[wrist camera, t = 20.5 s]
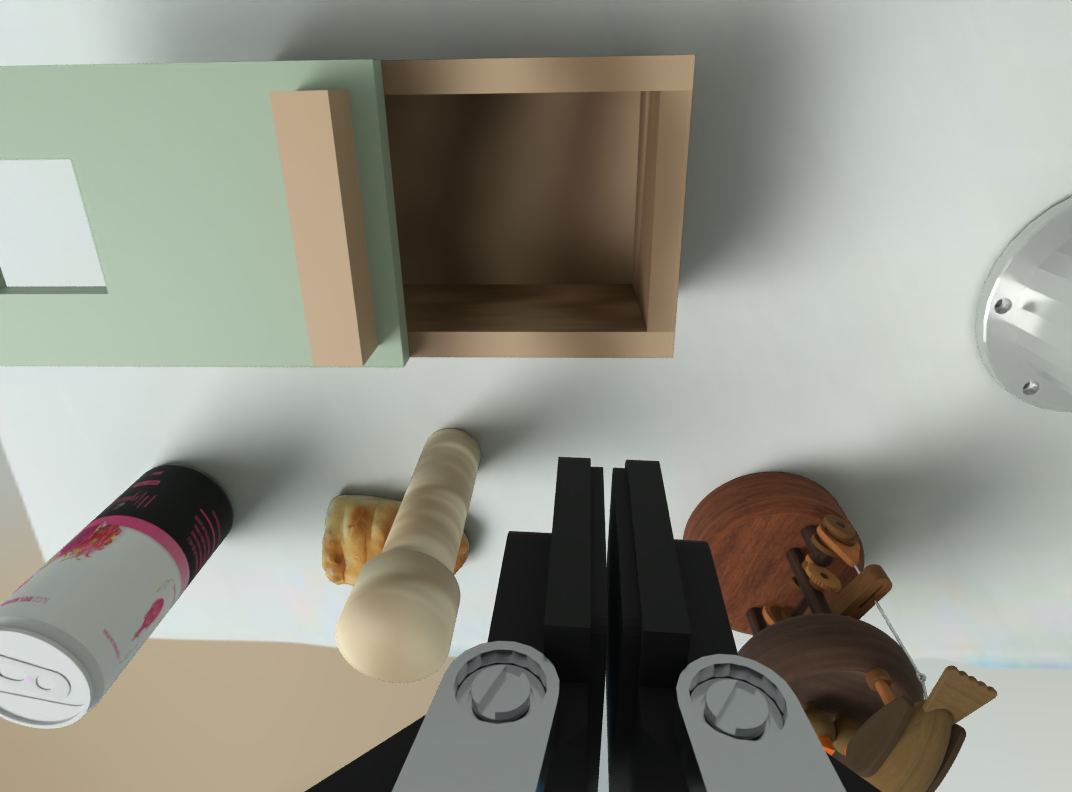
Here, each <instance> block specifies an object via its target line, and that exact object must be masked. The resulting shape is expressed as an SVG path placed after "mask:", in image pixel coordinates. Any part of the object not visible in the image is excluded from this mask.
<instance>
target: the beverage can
mask: <svg viewBox="0 0 1072 792" xmlns="http://www.w3.org/2000/svg"><path fill="white" fill-rule="evenodd" d="M232 522H233V510H232V506H231V503H230V501H229V499H228V497H227V495H226V494H225V492H224V491H223V489H222V488H221V487H220V486H219V485H218V484H217V483H216V482H215V481H214V480H212V479H211V478H210V477H208V476H207V475H205V474H204V473H202V472H200V471H198V470H195V469H193V468H189V467H186V466H181V465H163V466H159V467H156V468H153V469H151V470H149V471H148V472H146V473H145V474H144V475H142V476H141V477H140V478H139V479H138V480H137V481H136V482H135V483H134V484H133V485H131V486H130V487H129V488H128V489H127V490H126V491H125V492H124V493H123V494H122V495H120V496H119V497H118V498H117V499H116V500H115V501H114V502H113V503H112V504H111V505H109V506H108V507H107V508H106V509H105V510H104V511H103V512H102V513H101V514H99V515H98V516H97V517H96V518H95V519H94V520H93V521H92V522H91V523H90V524H88V525H87V526H86V527H85V528H84V529H83V530H82V531H81V532H80V533H79V534H77V535H76V536H75V537H74V538H73V539H72V540H71V541H70V542H69V543H67V544H66V545H65V546H64V547H63V548H62V549H61V550H60V551H59V552H58V553H56V554H55V555H54V556H53V557H52V558H51V559H50V560H49V561H48V562H47V563H45V564H44V565H43V566H42V567H41V568H40V569H39V570H38V571H37V572H36V573H34V574H33V575H32V576H31V577H30V578H29V579H28V580H27V581H26V582H24V583H23V584H22V585H21V586H20V587H19V588H18V589H17V590H16V591H15V592H13V593H12V594H11V595H10V596H9V597H8V598H7V599H6V600H5V601H4V602H2V603H1V604H0V717H2V718H4V719H6V720H9V721H11V722H14V723H17V724H20V725H24V726H28V727H34V728H47V729H49V728H59V727H63V726H67V725H70V724H72V723H74V722H76V721H77V720H79V719H80V718H81V717H83V716H84V714H85V713H86V712H88V711H90V710H91V709H92V708H94V707H95V706H96V705H97V704H98V703H99V701H100V700H101V699H102V697H103V696H104V695H105V693H106V692H107V691H108V689H109V688H110V687H111V686H112V684H113V683H114V682H115V680H116V679H117V677H118V676H119V675H120V674H121V673H122V671H123V670H124V669H125V667H126V666H127V665H128V663H129V662H130V661H131V659H132V658H133V657H134V656H135V654H136V653H137V652H138V650H139V649H140V648H141V646H142V645H143V644H144V643H145V641H146V640H147V639H148V637H149V636H150V635H151V633H152V632H153V631H154V630H155V628H156V627H157V626H158V624H159V623H160V622H161V620H162V619H163V618H164V617H165V615H166V614H167V613H168V611H169V610H170V609H171V607H172V606H173V605H174V603H175V602H176V601H177V600H178V598H179V597H180V596H181V594H182V593H183V592H184V590H185V589H186V588H187V587H188V585H189V584H190V583H191V581H192V580H193V579H194V577H195V576H196V575H197V574H198V572H199V571H200V570H201V568H202V567H203V566H204V564H205V563H206V562H207V560H208V559H209V558H210V557H211V555H212V554H213V553H214V551H215V550H216V549H217V547H218V546H219V545H220V544H221V542H222V541H223V540H224V538H225V537H226V536H227V534H228V533H229V531H230V529H231V526H232Z"/></svg>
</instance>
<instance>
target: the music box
mask: <svg viewBox="0 0 1072 792" xmlns="http://www.w3.org/2000/svg"><path fill="white" fill-rule="evenodd" d="M683 540H696V541H706V542H708V544H709V547H710V550H711V553H712V557H713V561H714V565H715V569H716V572H717V576H718V580H719V584H720V588H721V592H722V595H723V599H724V603H725V607H726V611H727V615H728V618H729V622H730V626H731V629H732V630H735V631H738V632H742V633H746V634H751V635H753V637H752V638H751V639H750V640H749V641H748V642H747V643H746V644H745V645H744V646H743V647H742V648H741V649H740V650H739V652H738V656H741V657H744V658H748V659H751V660H755V661H756V662H758V663H760V664H762V665H764V666H766V667H768V668H770V669H771V670H773V671H774V672H775V673H776V674H777V675H779V676H780V677H781V678H782V679H783V680H785V681H786V683H787V684H788V685H789V687H790V688H791V689H792V691H793V692H794V694H795V695H796V697H797V698H798V700H799V702H800V704H801V706H802V708H803V710H804V712H805V714H806V716H807V718H808V719H809V721H810V723H811V725H812V727H813V729H814V731H815V733H816V735H817V737H818V739H819V740H820V742H821V744H822V746H823V748H824V750H825V752H827V753H828V754H830V755H831V756H832V757H834V758H835V759H837V760H838V761H839V762H841V763H842V764H844V765H845V766H846V767H848V768H849V769H851V770H852V771H853V772H855V773H856V774H858V775H859V776H860V777H862V778H863V779H865V780H866V781H868V782H869V783H870V784H872V785H873V786H875V787H876V788H877V789H879V790H880V791H882V792H934V791H935V790H936V789H937V787H938V786H939V785H940V783H941V782H942V780H943V779H944V777H945V776H946V774H947V773H948V771H949V769H950V767H951V766H952V764H953V762H954V760H955V759H956V757H957V754H958V753H959V751H960V749H961V746H962V744H963V742H964V740H965V737H966V732H965V729H964V728H963V727H961V726H959V725H957V724H955V723H957V722H958V721H960V720H961V719H963V718H964V717H966V716H967V715H969V714H971V713H972V712H974V711H975V710H977V709H978V708H980V707H981V706H983V705H984V704H986V703H988V702H989V701H991V700H992V699H994V698H995V697H996V696H997V692H996V690H995V689H994V688H993V687H990V686H989V687H987V686H986V684H985V683H983V682H981V681H977V680H976V678H974V677H973V676H968V675H967V674H966V673H965V672H964V671H959V670H958V669H957V668H956V667H955V666H948V667H947V668H946V669H945V670H944V672H943V673H942V675H941V677H940V678H939V680H938V682H937V684H936V685H935V687H934V688H933V690H932V692H931V693H930V695H929V697H928V696H927V692H926V687H925V682H924V681H925V680H926V676H925V675H924V674H921V673H920V672H919V670H918V669H917V667H916V666H915V664H914V662H913V660H912V659H911V657H910V655H909V654H908V652H907V650H906V649H905V647H904V645H903V644H902V642H901V640H900V639H899V637H898V635H897V634H896V632H895V630H894V629H893V627H892V625H891V624H890V622H889V620H888V619H887V617H886V615H885V614H884V612H883V610H882V608H881V607H880V605H879V603H878V601H879V600H880V599H881V598H883V597H884V596H885V595H886V594H887V593H888V592H889V591H890V590H891V588H892V582H891V581H890V579H889V578H888V576H887V575H886V573H885V572H884V570H883V568H882V567H881V566H879V565H876V564H873V565H869V566H867V567H866V568H865V569H864V551H863V546H862V543H861V540H860V538H859V536H858V534H857V532H856V531H855V529H854V528H853V526H852V524H851V523H850V521H849V520H848V518H847V517H846V515H845V514H844V512H843V510H842V509H841V507H840V506H839V504H838V503H837V501H836V500H835V499H834V497H833V496H832V495H831V494H830V493H829V492H828V491H827V490H826V489H824V488H823V487H822V486H820V485H819V484H817V483H815V482H813V481H811V480H809V479H807V478H804V477H802V476H798V475H795V474H790V473H783V472H762V473H755V474H750V475H746V476H742V477H739V478H737V479H734V480H732V481H729V482H727V483H725V484H723V485H722V486H720V487H718V488H717V489H715V490H714V491H712V492H711V493H710V494H709V495H707V496H706V497H705V498H704V499H703V500H702V501H701V502H700V503H699V505H698V506H697V507H696V508H695V510H694V511H693V513H692V514H691V516H690V518H689V520H688V522H687V525H686V528H685V531H684V536H683ZM863 569H864V570H863ZM875 604H876V605H877V607H878V609H879V610H880V612H881V614H882V615H883V617H884V619H885V620H886V622H887V624H888V626H889V627H890V629H891V631H892V632H893V634H894V636H895V637H896V639H897V641H898V642H899V644H900V645H899V644H898V643H897V642H896V641H894V640H893V639H892V638H891V637H890V636H888V635H887V634H886V633H884V632H883V631H881V630H880V629H878V628H876V627H874V626H872V625H870V624H868V623H866V622H864V621H861V620H859V619H860V618H861V617H862V616H863V615H864V614H865V613H867V612H868V611H869V610H870V609H871V608H872V607H873V606H874V605H875ZM923 693H924V695H923ZM924 698H925V700H924Z"/></svg>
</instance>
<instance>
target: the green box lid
mask: <svg viewBox="0 0 1072 792" xmlns="http://www.w3.org/2000/svg"><path fill="white" fill-rule="evenodd" d="M52 159H71V162H72V166H73V170H74V173H75V177H76V180H77V184H78V187H79V191H80V195H81V198H82V202H83V205H84V209H85V212H86V216H87V219H88V223H89V227H90V230H91V234H92V237H93V241H94V244H95V248H96V252H97V255H98V259H99V262H100V266H101V269H102V273H103V277H104V280H105V284H106V286H98V287H7V286H6V283H5V280H4V277H3V274H2V271H1V268H0V366H121V367H404V366H405V365H406V363H407V361H408V359H409V358H410V356H409V345H408V335H407V325H406V315H405V304H404V294H403V284H402V274H401V263H400V253H399V243H398V232H397V222H396V212H395V202H394V191H393V181H392V171H391V161H390V150H389V140H388V130H387V119H386V109H385V99H384V89H383V78H382V68H381V60H374V59H359V60H305V61H251V62H197V63H143V64H89V65H35V66H0V160H52Z"/></svg>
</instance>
